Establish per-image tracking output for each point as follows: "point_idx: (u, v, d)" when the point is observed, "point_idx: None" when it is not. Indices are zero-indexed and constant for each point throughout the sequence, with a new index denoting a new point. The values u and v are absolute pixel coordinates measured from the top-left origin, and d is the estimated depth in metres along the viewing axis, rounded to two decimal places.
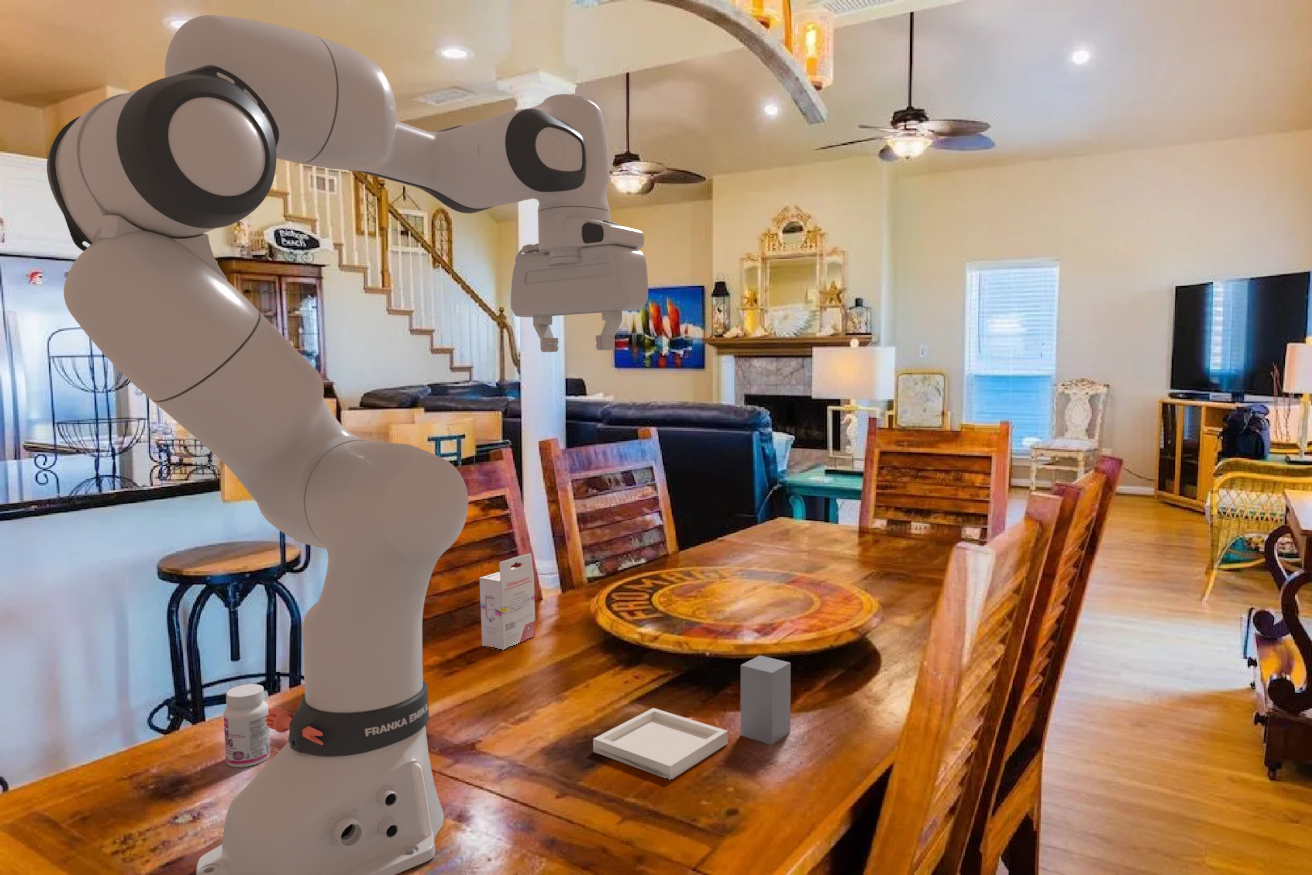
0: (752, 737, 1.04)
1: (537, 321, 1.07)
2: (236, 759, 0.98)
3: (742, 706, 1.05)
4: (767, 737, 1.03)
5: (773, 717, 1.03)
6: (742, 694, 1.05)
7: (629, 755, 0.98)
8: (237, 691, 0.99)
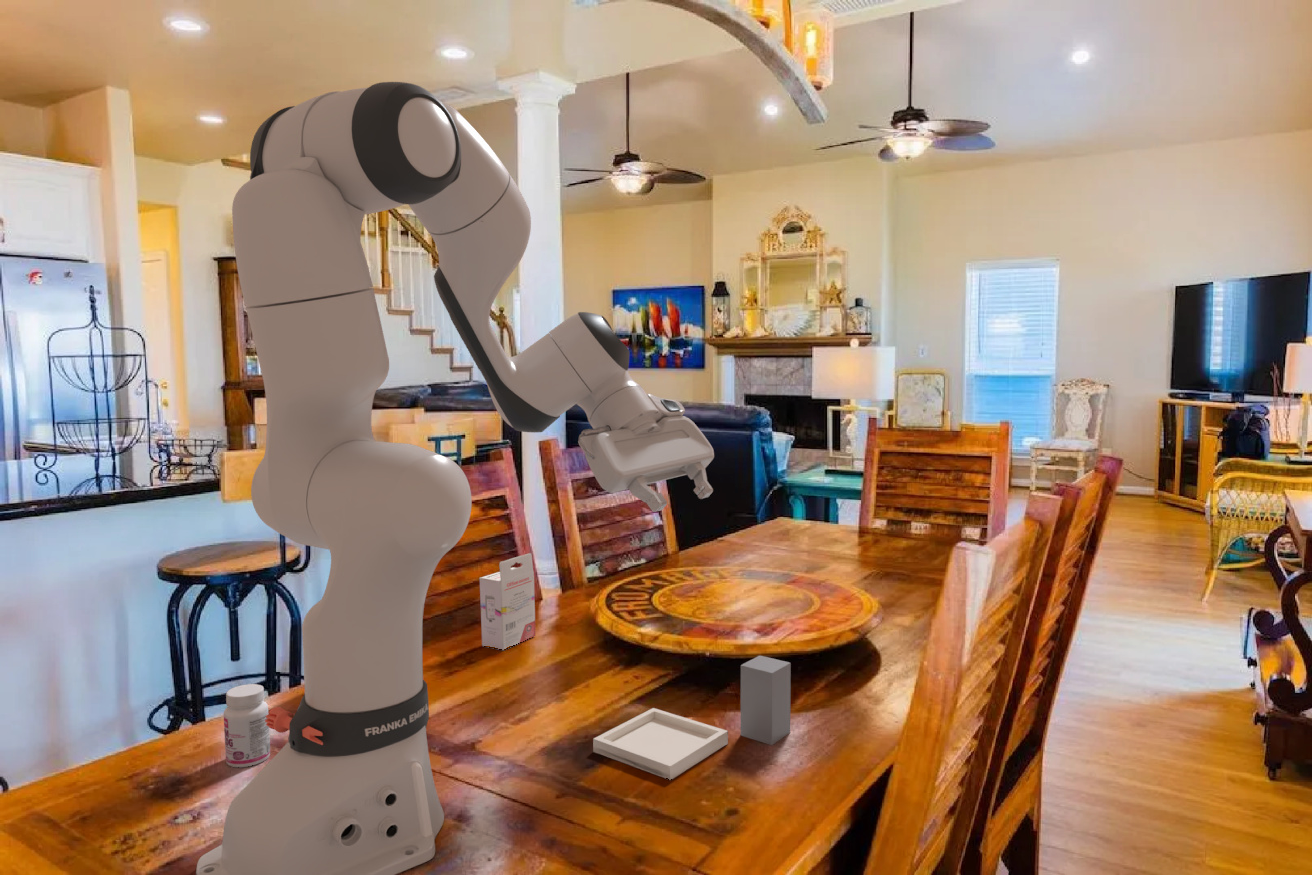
0: (752, 737, 1.04)
1: (643, 481, 1.08)
2: (236, 759, 0.98)
3: (742, 706, 1.05)
4: (767, 737, 1.03)
5: (773, 717, 1.03)
6: (742, 694, 1.05)
7: (629, 755, 0.98)
8: (237, 691, 0.99)
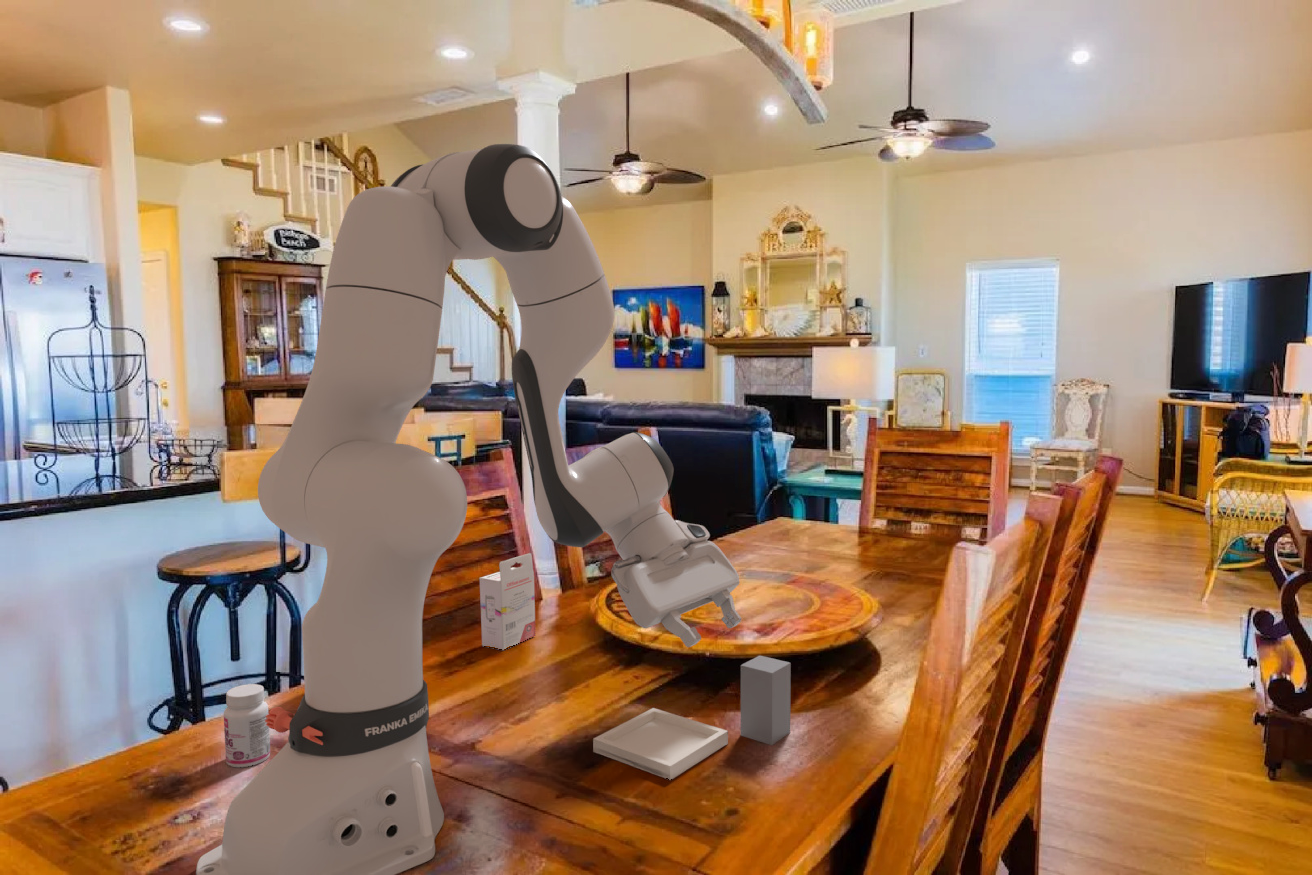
0: (752, 737, 1.04)
1: (677, 615, 1.06)
2: (236, 759, 0.98)
3: (742, 706, 1.05)
4: (767, 737, 1.03)
5: (773, 717, 1.03)
6: (742, 694, 1.05)
7: (629, 755, 0.98)
8: (237, 691, 0.99)
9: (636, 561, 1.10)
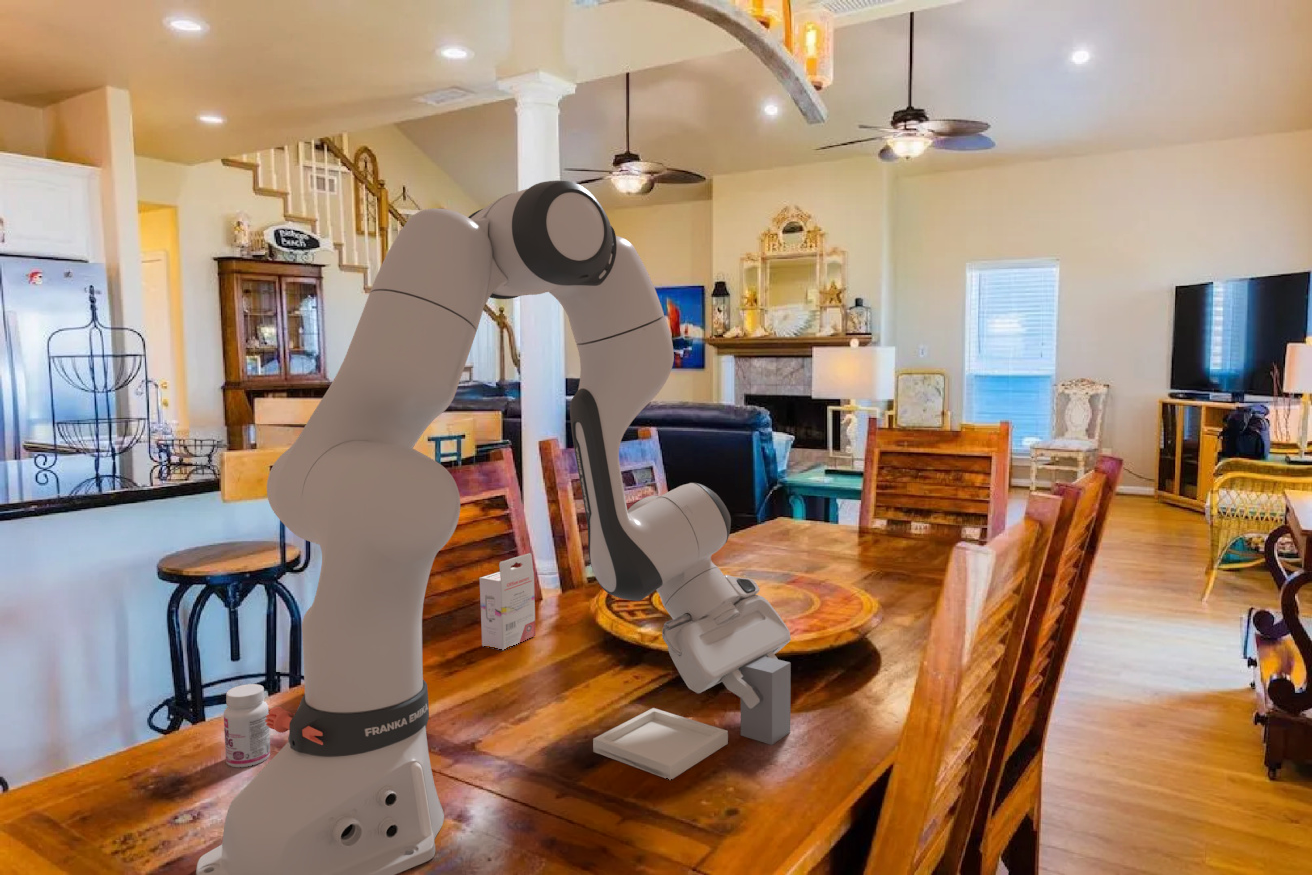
0: (752, 737, 1.04)
1: (739, 675, 1.03)
2: (236, 759, 0.98)
3: (742, 706, 1.05)
4: (767, 737, 1.03)
5: (773, 717, 1.03)
6: None
7: (629, 755, 0.98)
8: (237, 690, 0.99)
9: (686, 620, 1.06)
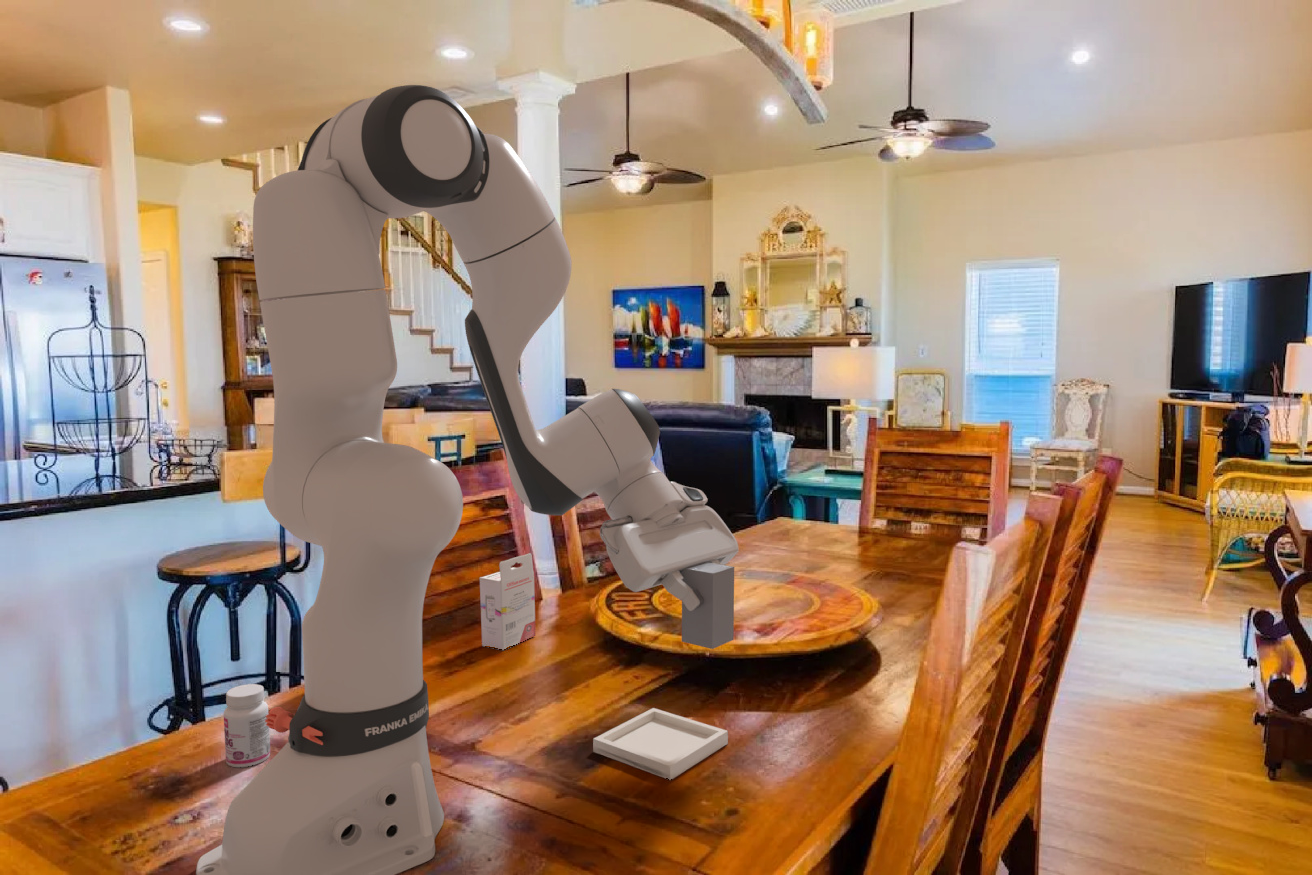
0: (693, 642, 1.01)
1: (679, 576, 1.00)
2: (236, 759, 0.98)
3: (683, 611, 1.02)
4: (708, 641, 1.00)
5: (714, 620, 0.99)
6: None
7: (629, 755, 0.98)
8: (237, 691, 0.99)
9: (627, 522, 1.02)
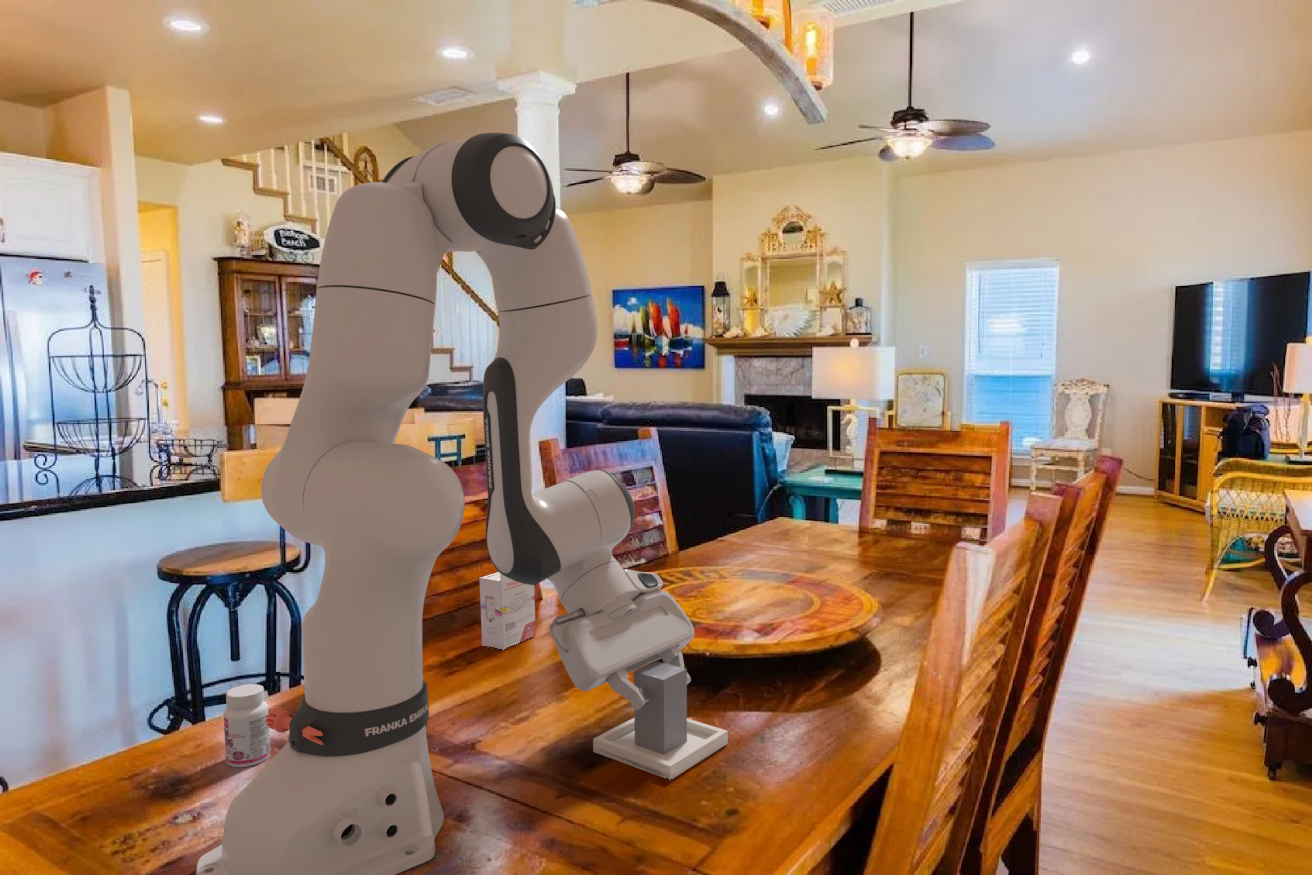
0: (645, 746, 1.01)
1: (624, 675, 0.98)
2: (236, 759, 0.98)
3: (636, 714, 1.01)
4: (660, 746, 0.99)
5: (665, 726, 0.99)
6: None
7: (629, 755, 0.98)
8: (237, 691, 0.99)
9: (579, 616, 1.02)
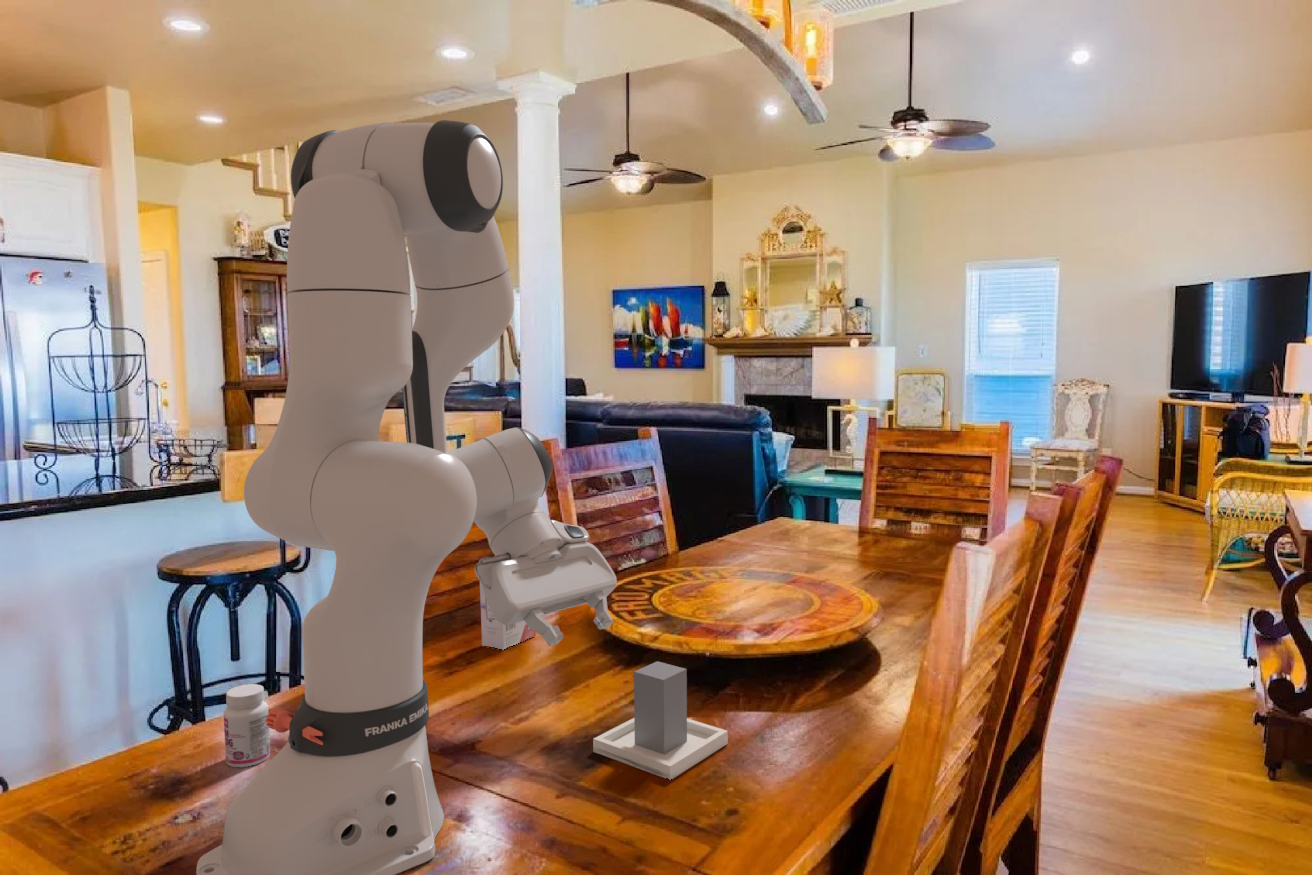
0: (645, 746, 1.01)
1: (539, 613, 1.06)
2: (236, 759, 0.98)
3: (636, 714, 1.01)
4: (660, 746, 0.99)
5: (665, 726, 0.99)
6: (636, 702, 1.01)
7: (629, 755, 0.98)
8: (237, 691, 0.99)
9: (504, 559, 1.10)
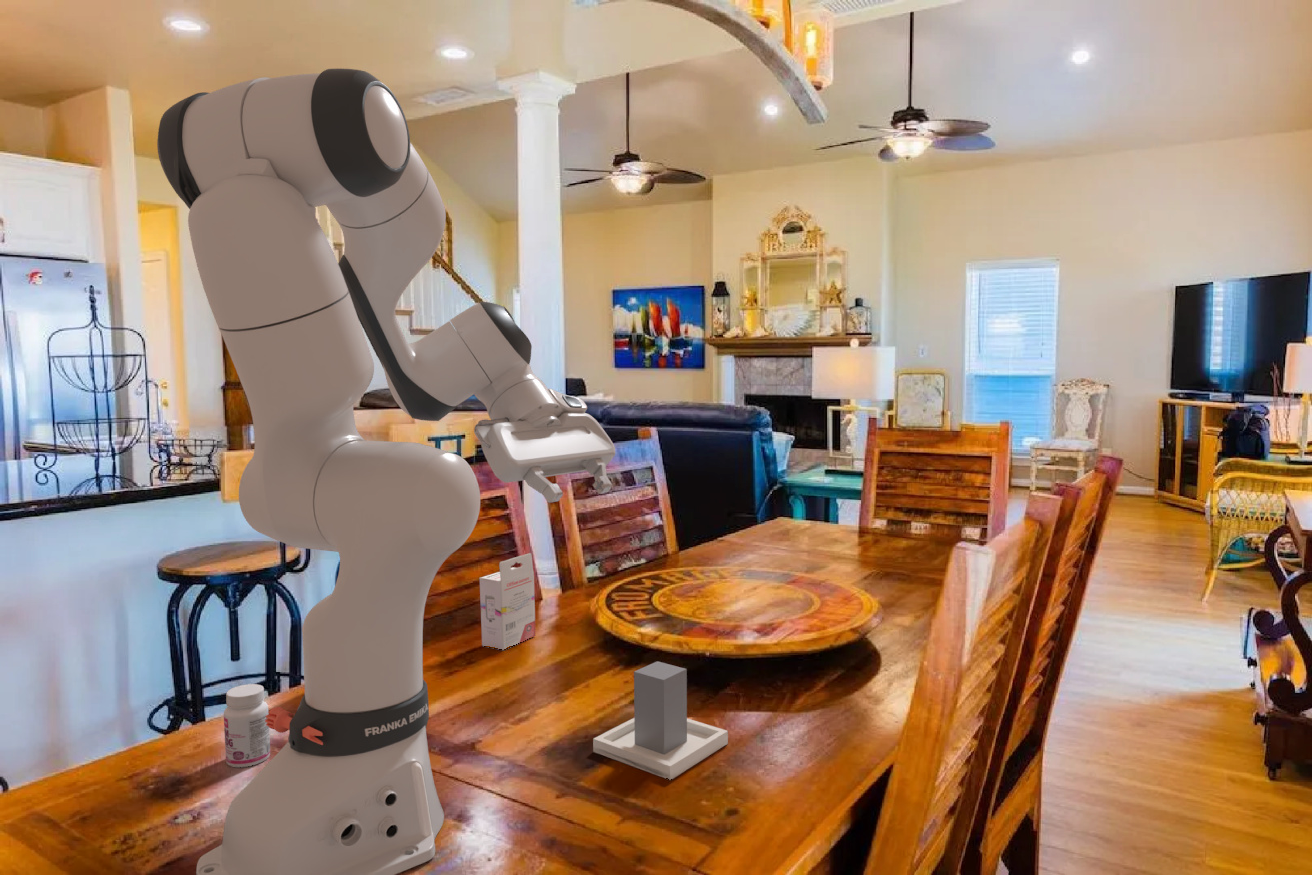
0: (645, 746, 1.01)
1: (539, 471, 1.07)
2: (236, 759, 0.98)
3: (636, 714, 1.01)
4: (660, 746, 0.99)
5: (665, 726, 0.99)
6: (636, 702, 1.01)
7: (629, 755, 0.98)
8: (237, 691, 0.99)
9: None
